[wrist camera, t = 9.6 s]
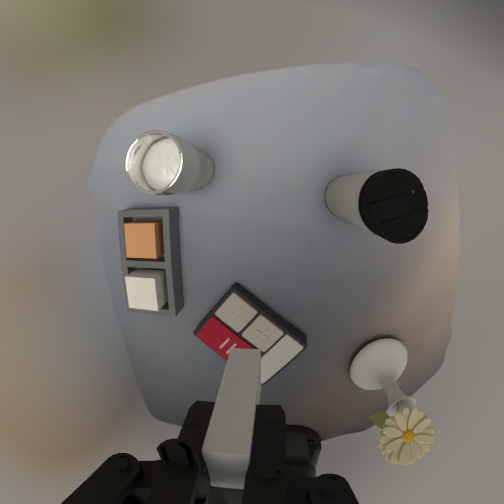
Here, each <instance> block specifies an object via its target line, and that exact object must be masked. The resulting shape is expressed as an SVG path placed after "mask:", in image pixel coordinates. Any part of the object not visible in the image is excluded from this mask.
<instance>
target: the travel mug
mask: <svg viewBox="0 0 504 504" xmlns="http://www.w3.org/2000/svg"><path fill="white" fill-rule="evenodd" d="M423 188H424V187H423V185H422V183H421V181H420V179H419V178H418V177H417V176H416V175H415V174H413V173H412V172H410V171H408V170H405V169H399V168H398V169H389V170H388V169H385V170H377V171H371V172H364V173H358V174H352V175H345V176H340V177H337V178H335V179H333V180H332V181H331V182H330V183H329V185H328V186H327V188H326V191H325V202H326V205H327V207H328V209H329V210H330V211H331V212H332V213H333V214H334V215H335V216H337V217H340V218H342V219H344V220H346V221H348V222H350V223H352V224H354V225H356V226H358V227H360V228H362V229H364V230H366V231H368V232H370V233H372V234H374V235H376V236H378V237H382V238H384V239H386V240H388V241H389V242H392V243H396V244H403V243H407V242H409V241H411V240H413V239H414V238H416V237H417V236H418V235H419V234H420V233H421V231H422V230H423V228H424V226H425V224H426V222H427V219H428V209H427V207H428V201H427V196H426V192H425V190H424V189H423Z"/></svg>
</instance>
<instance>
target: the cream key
mask: <svg viewBox="0 0 504 504" xmlns="http://www.w3.org/2000/svg"><path fill="white" fill-rule="evenodd" d="M125 282H126V289H127V296H128V303H129V308H135V309H143V310H152V311H159V310H160V309H161V308H162V306H163V305H164V304H165V303H166V302H167V301H168V299H167V288H166V277H165V271H164V270H145V269H136V270H134V271H133V272H131V273H130V274H128V275H127V276H125Z"/></svg>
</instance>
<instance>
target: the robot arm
mask: <svg viewBox="0 0 504 504" xmlns="http://www.w3.org/2000/svg"><path fill="white" fill-rule="evenodd" d="M260 392H261V349H240V348H231V350H230V353H229V357H228V360H227V364H226V367H225V371H224V374H223V378H222V381H221V385H220V388H219V392H218V395H217V399H216V402H206V401H196V402H195V403H194V404H193V405H192V406H191V407H190V408H189V411H188V413H187V416H186V418H185V421H184V425H183V426H182V429H181V431H180V434H179V437H178V439H169V440H166V441H164V442H162V443H161V444H160V445H159V446H158V447H157V451H158V453H159V455H160V458H161V460H156V461H138V460H137V459H136V458H135V457H134V456H132V455H130V454H127V453H118V454H114V455H112V456H111V457H109V458H108V459H107V460H106V461H105V462H104V463H103V464H102V465H101V466H100V467H99V468H98V469H97V470H96V471H95V472H94V473H93V474H92V475H91V476H90V477H89V478H88V479H87V480H86V481H84V482H83V483H82V484H81V485H80V486H79V487H78V488H77V489H76V490H75V491H74V492H73V493H72V494H71V495H70V496H69V497H68V498H66V499H65V500H64V501H63V502H62V503H61V504H359V503H358V501H357V499H356V497H355V495H354V493H353V491H352V489H351V487H350V485H349V484H348V482H347V481H346V480H345V478H343V477H341V476H339V475H336V474H322V475H320V476H318V477H316V473H315V472H316V471H315V466H316V464H317V461H318V457H319V454H320V451H321V440H320V437H319V435H318V434H317V433H316V432H315V431H313V430H312V429H309V428H306V427H302V426H295V425H285V423H286V421H285V412H284V410H283V409H282V407H281V406H280V405H259V403H260Z"/></svg>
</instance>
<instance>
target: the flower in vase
mask: <svg viewBox="0 0 504 504" xmlns="http://www.w3.org/2000/svg"><path fill="white" fill-rule="evenodd" d="M407 359H408V357H407V350H406V347H405V346H404V344H403V343H402V342H400V341H398V340H396V339H391V338H386V339H380V340H376V341H374V342H372V343H370V344H368V345H366V346H365V347H364V348H363V349H361V350H360V351H359V353H358V354H357V355H356V356H355V358H354V360H353V361H352V364H351V367H350V377H351V380H352V381H353V382H354V384H356V385H357V386H358V387H360V388H362V389H365V390H378V389H382V388H384V390H385V392H386V395H387V398H388V403H389V406H388V409H387V411H386V413H385V412H379V413H375V414H373V415H371V416H369V417H367V418H368V419H370V420H371V421H372V422H373V423H375V424H376V425H377V426H378V427H380V428H382V429H383V431H381V433H380V438H379V443H378V447H379V448H383V449H382V451H381V453H382V455H385V460H386V461H390V462H391V463H395V464H399V463H400V464H403V465H407V464H408V465H411V464H413V462H415V461H416V459H421V458H422V457H423V455H424V454H425V453H427V452H429V451H430V443H432V442H433V441H434V437H433V436H432V435H433V434H434V433H435V430H434V426H433V425H431V424H430V423H431V419H430V418H427V414H426V413H425V412H424V411H423V410H420V411H418V409H417V408H415V406H416V400H415V398H413V397H409V396H406V395H405V394H404V393H403V392H402V391H401V390H400V389H399V387H398V385H397V383H396V380H397V379H398V378H399V377H400V375H401V374H402V372H403V371H404V369H405V367H406V364H407Z"/></svg>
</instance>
